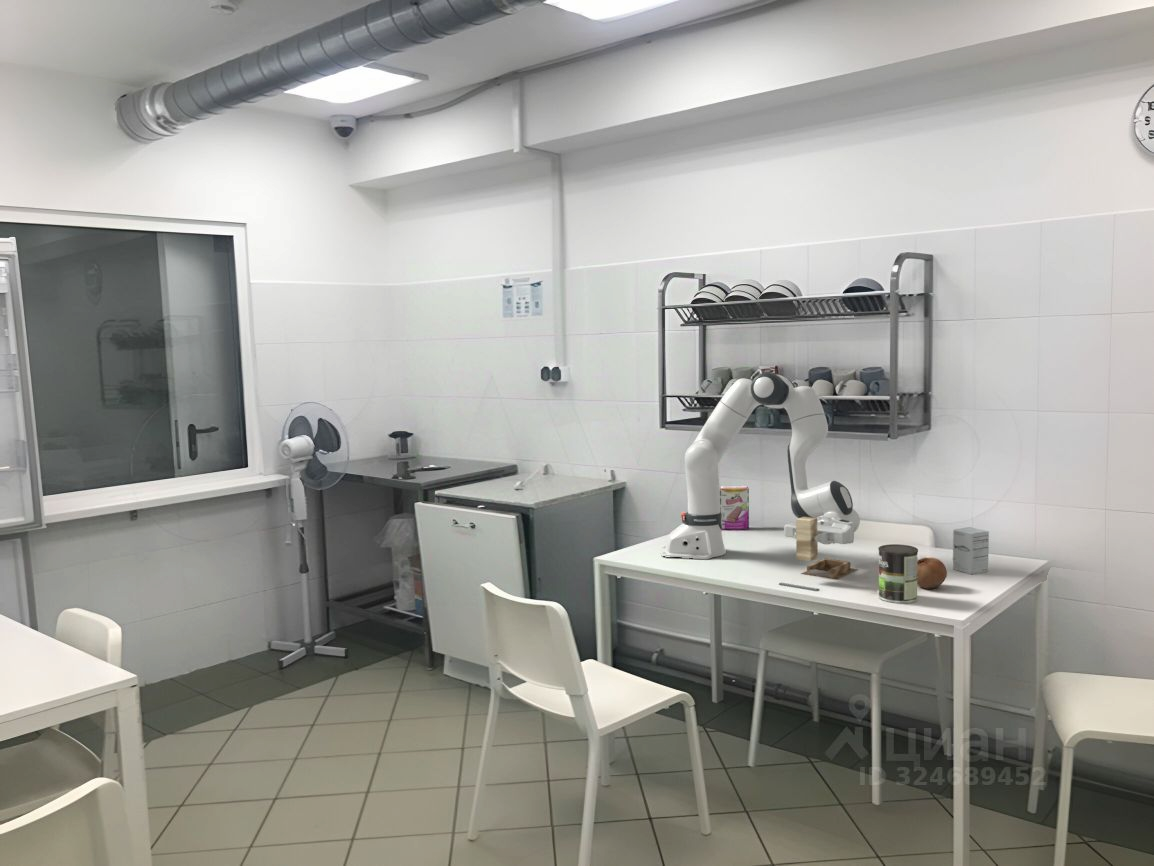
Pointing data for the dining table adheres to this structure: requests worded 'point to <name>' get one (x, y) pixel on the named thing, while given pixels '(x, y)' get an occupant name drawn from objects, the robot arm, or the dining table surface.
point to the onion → (930, 573)
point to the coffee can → (898, 573)
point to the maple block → (806, 538)
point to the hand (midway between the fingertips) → (805, 537)
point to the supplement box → (970, 550)
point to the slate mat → (799, 586)
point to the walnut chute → (829, 569)
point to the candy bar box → (734, 507)
